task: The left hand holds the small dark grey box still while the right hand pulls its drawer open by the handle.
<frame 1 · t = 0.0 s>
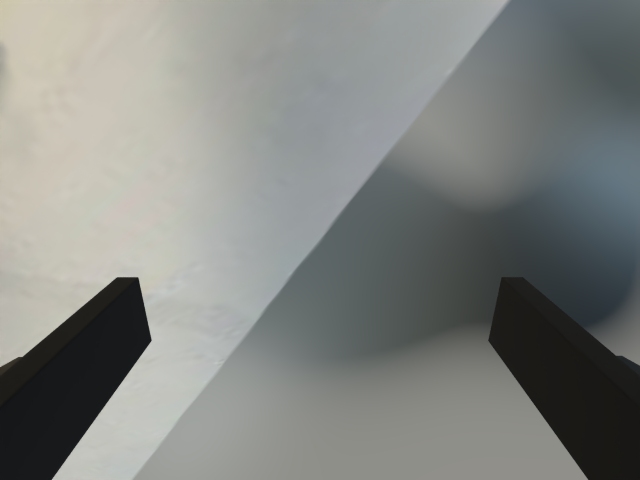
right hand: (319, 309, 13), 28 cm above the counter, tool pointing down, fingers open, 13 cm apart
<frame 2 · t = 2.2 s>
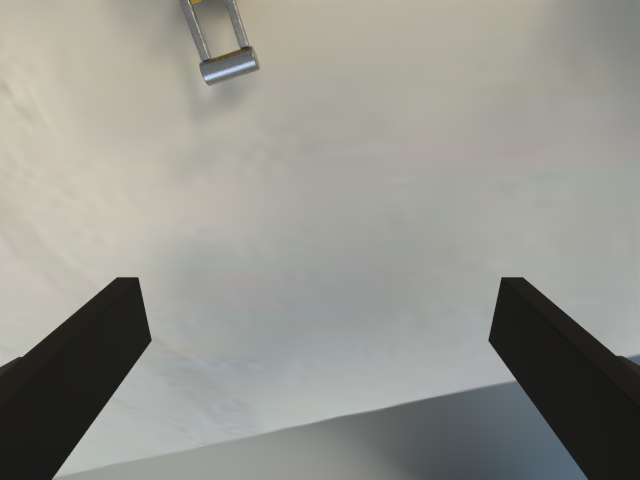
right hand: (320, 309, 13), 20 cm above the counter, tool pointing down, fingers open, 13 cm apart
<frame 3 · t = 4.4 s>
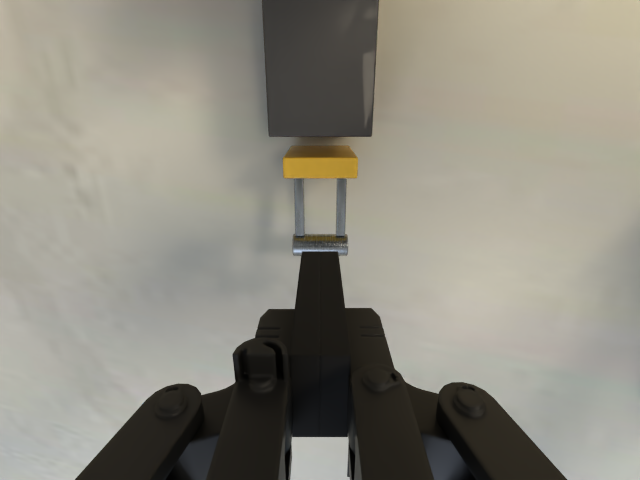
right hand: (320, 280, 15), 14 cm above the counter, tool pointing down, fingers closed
dark grey box: (320, 6, 23), on the counter, touching left hand
drawer: (320, 100, 22), point 4 cm above the counter, slide at 1.2 cm
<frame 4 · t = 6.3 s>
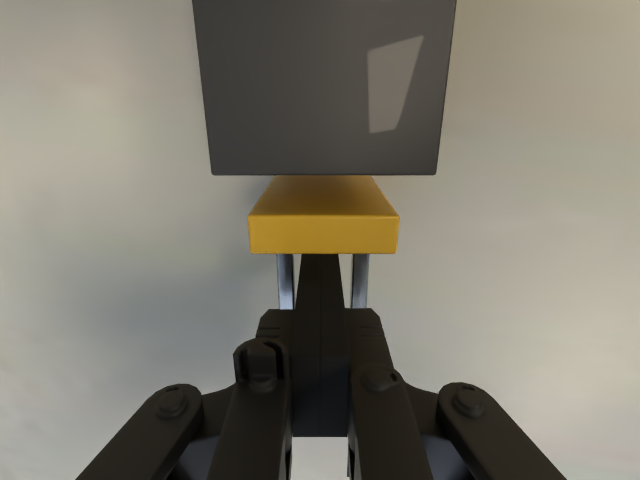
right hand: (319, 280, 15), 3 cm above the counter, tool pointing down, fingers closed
drawer: (323, 99, 12), point 4 cm above the counter, slide at 1.3 cm, touching right hand
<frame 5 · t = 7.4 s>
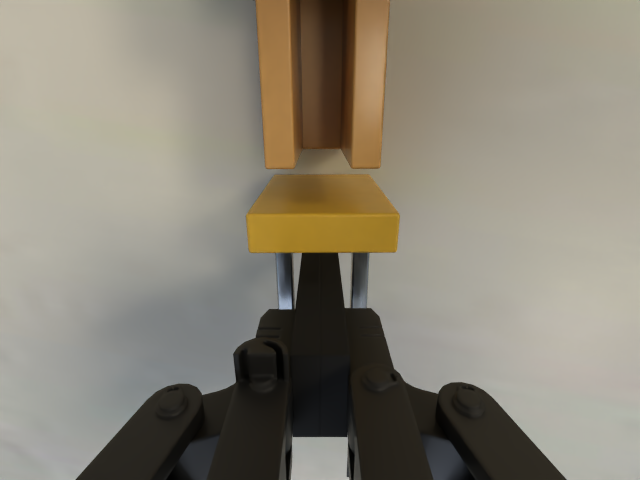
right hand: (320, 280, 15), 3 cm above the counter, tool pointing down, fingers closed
drawer: (322, 97, 11), point 4 cm above the counter, slide at 6.8 cm, touching right hand
when the left hand's fingers open (5 cm above the counter, at t = 9.0 s): dark grey box stays where it is, on the counter.
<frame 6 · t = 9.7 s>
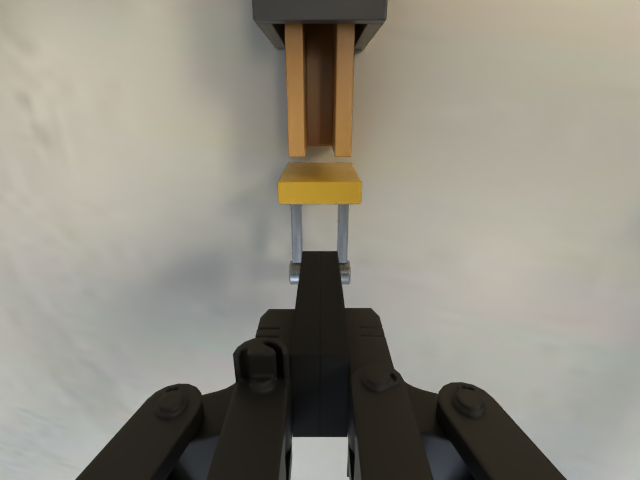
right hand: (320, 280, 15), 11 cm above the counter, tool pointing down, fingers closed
drawer: (319, 115, 19), point 4 cm above the counter, slide at 6.9 cm
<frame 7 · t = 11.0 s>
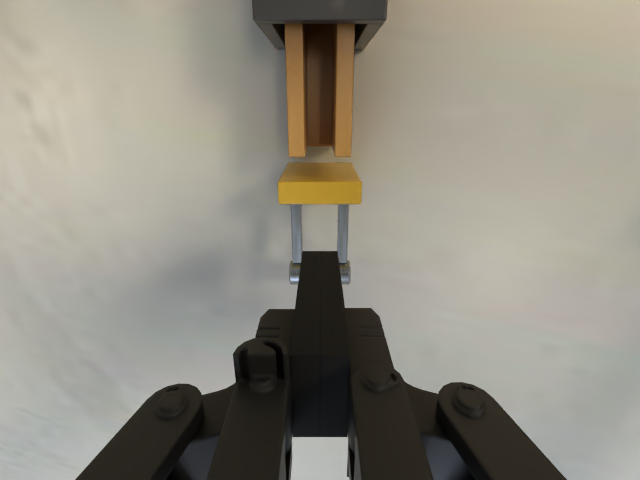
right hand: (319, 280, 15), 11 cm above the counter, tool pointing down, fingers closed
drawer: (319, 115, 19), point 4 cm above the counter, slide at 6.9 cm
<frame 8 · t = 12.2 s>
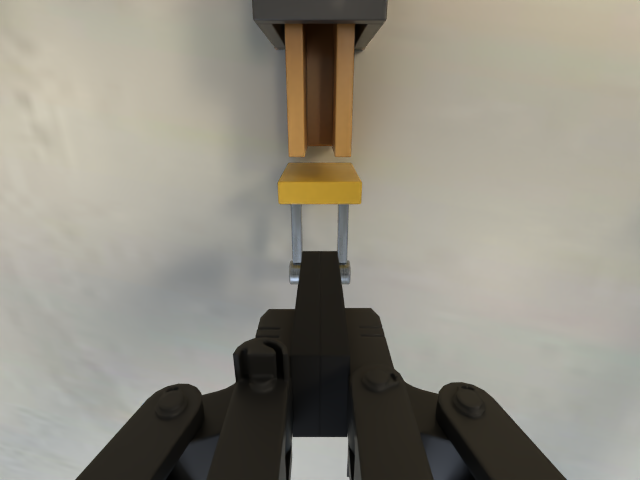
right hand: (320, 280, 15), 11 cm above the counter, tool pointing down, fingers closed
drawer: (319, 115, 19), point 4 cm above the counter, slide at 6.9 cm
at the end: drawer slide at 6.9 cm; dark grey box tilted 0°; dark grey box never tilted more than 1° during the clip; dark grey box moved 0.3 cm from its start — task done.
